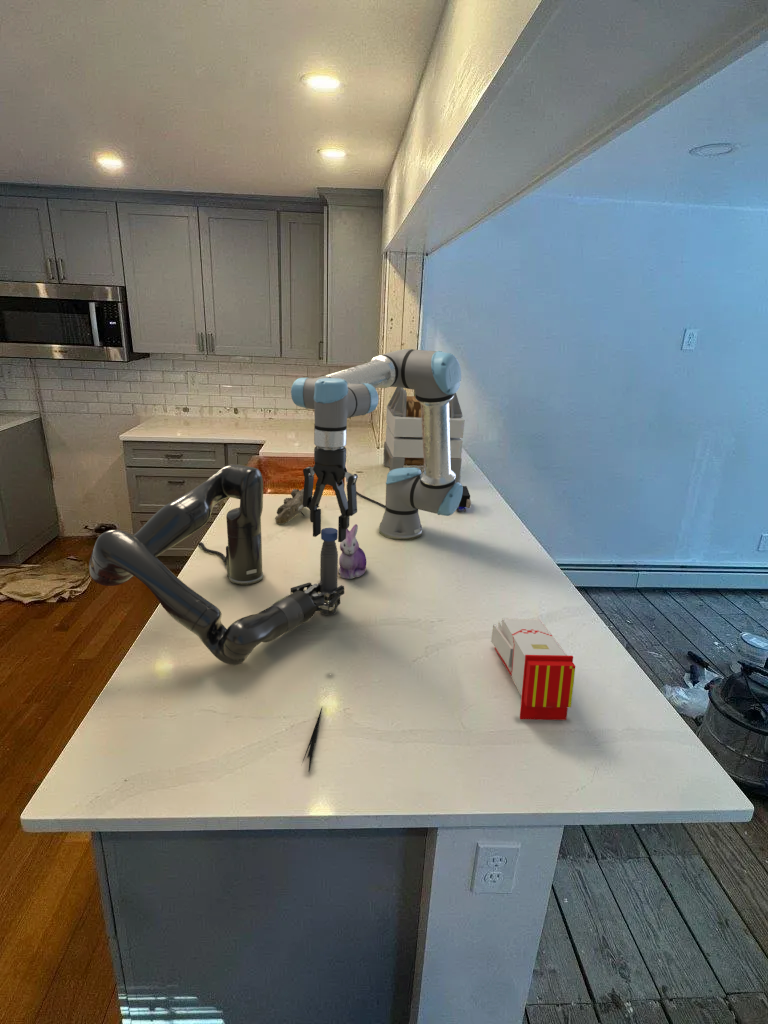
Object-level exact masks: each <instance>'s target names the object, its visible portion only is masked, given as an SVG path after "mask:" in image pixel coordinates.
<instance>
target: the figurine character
mask: <svg viewBox="0 0 768 1024" xmlns="http://www.w3.org/2000/svg"><path fill="white" fill-rule="evenodd" d="M462 486H463V493H462V498H461V501H460V503H459V506H458V508H457V509H456V511H457V512H460V510H463V511H464V513H466V512H467V509H470V508H471V505H472V504H471V501H472V500H471V494H470V491H469V488H468V486H467V485H462ZM466 508H467V509H466Z"/></svg>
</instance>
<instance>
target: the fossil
mask: <svg viewBox="0 0 768 1024" xmlns="http://www.w3.org/2000/svg"><path fill="white" fill-rule="evenodd" d="M303 493H304V488H301V490H300V489H299V488H293V489H292V491H291V492H290V495H291V497H285V498H284V499H283V504H281V505H280V506H279V507H278V508H277V510H276V514H277V515H276V516H275V517H274V520H275V523H276V524H279V525H282V524H286V523H289V522H290V521H292V519H293V518H295V517H297V515H299V514H301V515H302V516H303V517H305V516H306V515H305V514H304V512H303V510H304V509H305V507H304V506H303Z"/></svg>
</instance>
